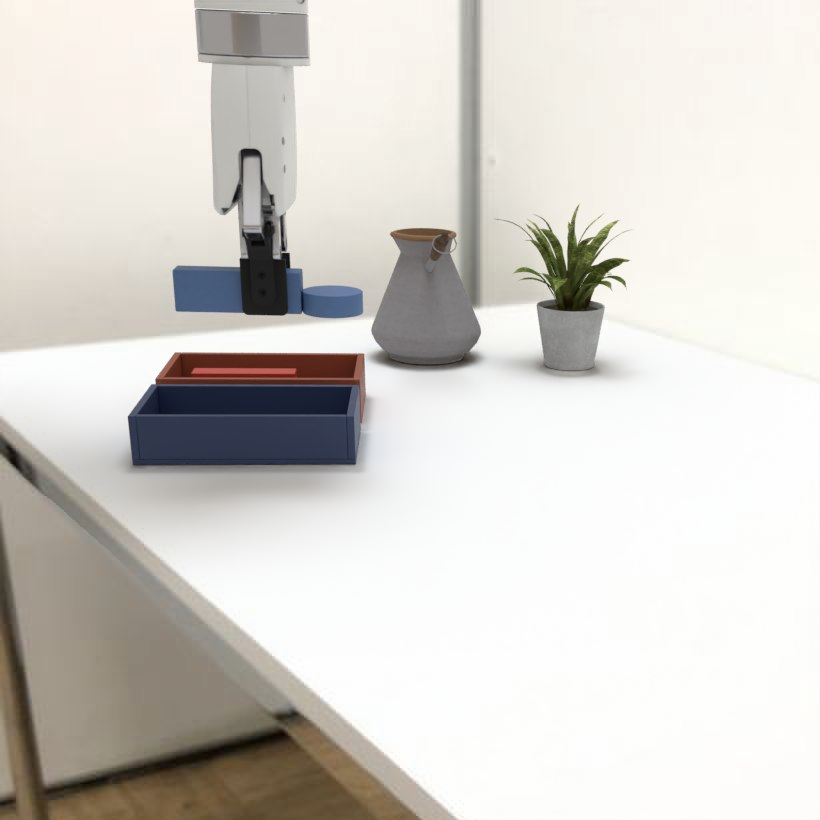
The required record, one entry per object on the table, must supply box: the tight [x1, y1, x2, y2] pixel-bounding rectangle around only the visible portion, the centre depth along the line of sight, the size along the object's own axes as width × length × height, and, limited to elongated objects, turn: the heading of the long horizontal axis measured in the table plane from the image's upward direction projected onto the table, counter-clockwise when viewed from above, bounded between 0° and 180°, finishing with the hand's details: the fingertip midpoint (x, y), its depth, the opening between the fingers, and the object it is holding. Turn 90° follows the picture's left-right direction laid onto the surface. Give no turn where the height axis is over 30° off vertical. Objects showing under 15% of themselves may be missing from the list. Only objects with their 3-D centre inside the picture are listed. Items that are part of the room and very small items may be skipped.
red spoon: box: [191, 368, 297, 378], centre depth 122 cm, size 13×4×3 cm, turn 97°
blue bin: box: [127, 383, 362, 466], centre depth 111 cm, size 17×10×4 cm, turn 97°
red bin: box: [154, 351, 367, 424], centre depth 122 cm, size 17×10×4 cm, turn 97°
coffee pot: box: [370, 227, 482, 365], centre depth 136 cm, size 21×12×15 cm, turn 14°
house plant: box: [495, 203, 634, 371], centre depth 139 cm, size 14×14×16 cm
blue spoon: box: [172, 265, 364, 319], centre depth 100 cm, size 13×4×3 cm, turn 96°
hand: (267, 308), depth 100 cm, fingers closed on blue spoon, 2 cm apart
